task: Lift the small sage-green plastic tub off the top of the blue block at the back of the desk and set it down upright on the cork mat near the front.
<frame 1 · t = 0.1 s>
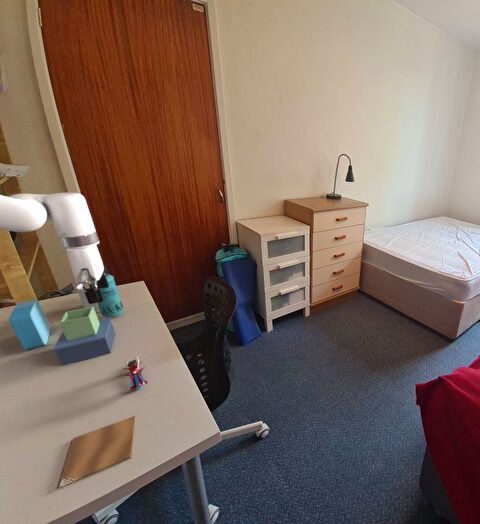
hand: (99, 294, 82), 18 cm above the table, tool pointing down, fingers open, 9 cm apart
cork mat: (101, 448, 60), on the table
blue block: (91, 348, 88), on the table, touching green tub
mug: (102, 307, 109), on the table
data package: (39, 339, 91), on the table
beverage bottle: (115, 317, 104), on the table
green tub: (84, 332, 85), point 6 cm above the table, touching blue block
toy action figure: (137, 380, 77), on the table
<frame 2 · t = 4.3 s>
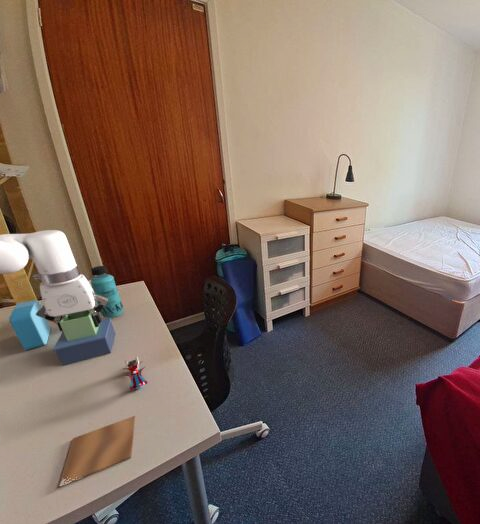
hand: (82, 327, 85), 8 cm above the table, tool pointing down, fingers closed on green tub, 6 cm apart
green tub: (84, 332, 85), point 6 cm above the table, touching blue block, gripper
everything else where it was.
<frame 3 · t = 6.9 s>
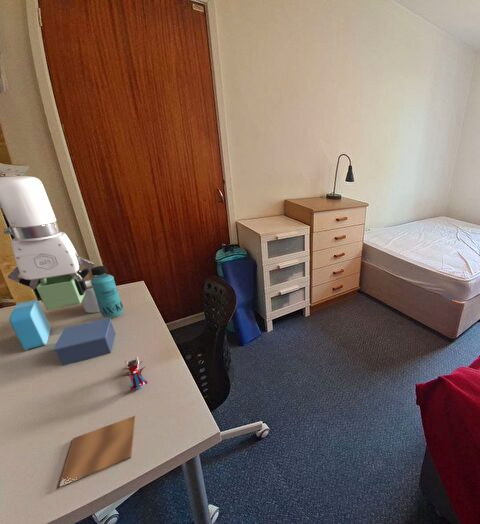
hand: (64, 295, 73), 23 cm above the table, tool pointing down, fingers closed on green tub, 6 cm apart
blue block: (91, 348, 88), on the table
green tub: (67, 301, 74), point 21 cm above the table, touching gripper
everything else where it was.
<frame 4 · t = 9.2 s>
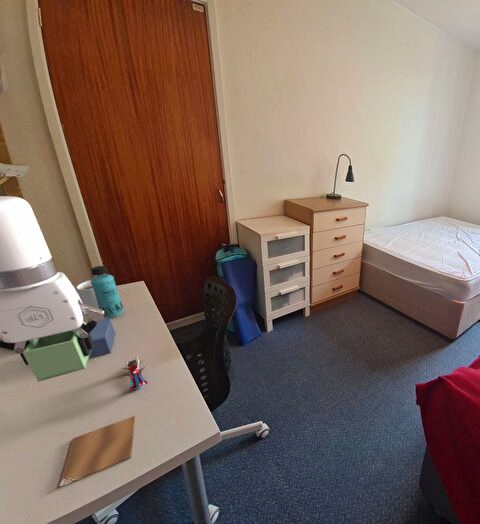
hand: (63, 357, 53), 22 cm above the table, tool pointing down, fingers closed on green tub, 6 cm apart
green tub: (66, 364, 54), point 21 cm above the table, touching gripper
everything else where it was.
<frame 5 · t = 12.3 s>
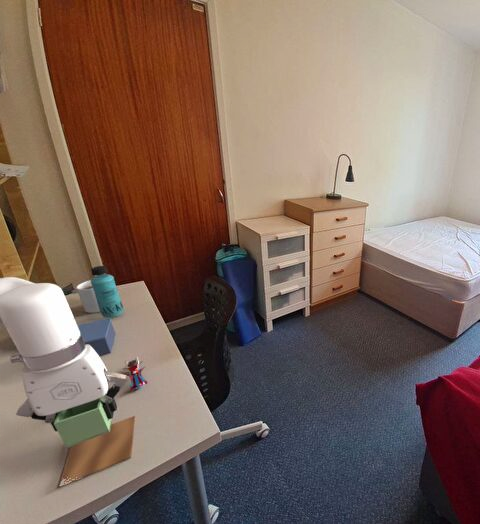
hand: (89, 421, 56), 8 cm above the table, tool pointing down, fingers closed on green tub, 6 cm apart
green tub: (91, 426, 57), point 7 cm above the table, touching gripper
everything else where it was.
when the fingers open (2 cm above the table, at t = 14.4 s): green tub stays where it is, resting on cork mat.
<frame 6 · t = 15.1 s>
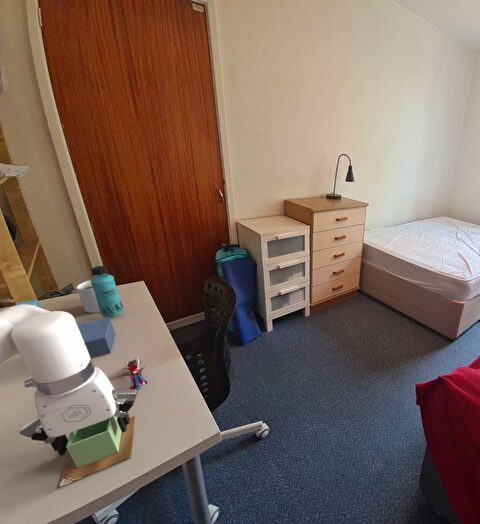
hand: (96, 437, 58), 3 cm above the table, tool pointing down, fingers open, 9 cm apart
green tub: (101, 447, 60), resting on cork mat
everything else where it was.
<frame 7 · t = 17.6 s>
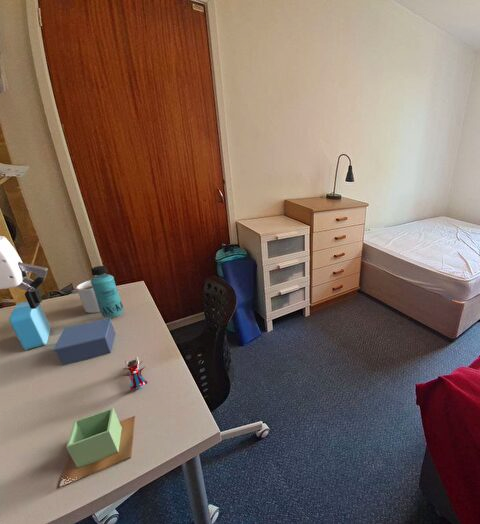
hand: (4, 310, 60), 27 cm above the table, tool pointing down, fingers open, 9 cm apart
nothing on the table moved.
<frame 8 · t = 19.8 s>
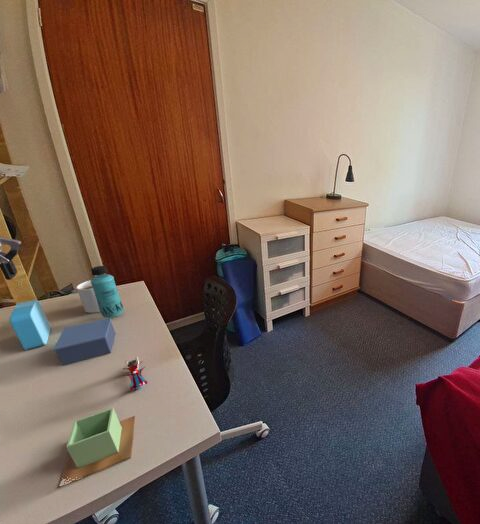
nothing on the table moved.
at the end: green tub inside the target area on the cork mat (0.0 cm from its centre), point 0.4 cm above the cork mat's base; green tub touching cork mat; green tub tilted 0° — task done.
